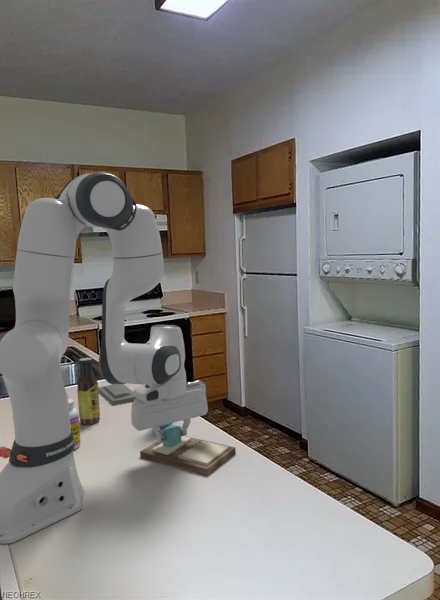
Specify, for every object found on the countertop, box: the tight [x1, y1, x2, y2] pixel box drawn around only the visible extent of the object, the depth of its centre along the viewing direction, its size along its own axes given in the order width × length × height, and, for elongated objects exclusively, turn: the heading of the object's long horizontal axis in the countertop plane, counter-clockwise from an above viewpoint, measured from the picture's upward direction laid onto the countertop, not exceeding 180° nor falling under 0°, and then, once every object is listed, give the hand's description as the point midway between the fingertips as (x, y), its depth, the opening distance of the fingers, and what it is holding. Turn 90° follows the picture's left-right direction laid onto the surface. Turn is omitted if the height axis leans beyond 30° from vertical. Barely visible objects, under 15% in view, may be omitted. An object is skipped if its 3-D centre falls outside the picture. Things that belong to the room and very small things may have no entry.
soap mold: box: [98, 384, 136, 406], centre depth 169 cm, size 10×20×4 cm, turn 29°
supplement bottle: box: [68, 398, 81, 451], centre depth 126 cm, size 7×7×13 cm
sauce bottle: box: [76, 357, 101, 425], centre depth 143 cm, size 7×6×20 cm
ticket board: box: [139, 435, 237, 476], centre depth 118 cm, size 13×20×2 cm, turn 58°
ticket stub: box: [152, 424, 192, 455], centre depth 120 cm, size 10×5×5 cm, turn 148°
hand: (172, 438), depth 120 cm, fingers closed on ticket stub, 5 cm apart
